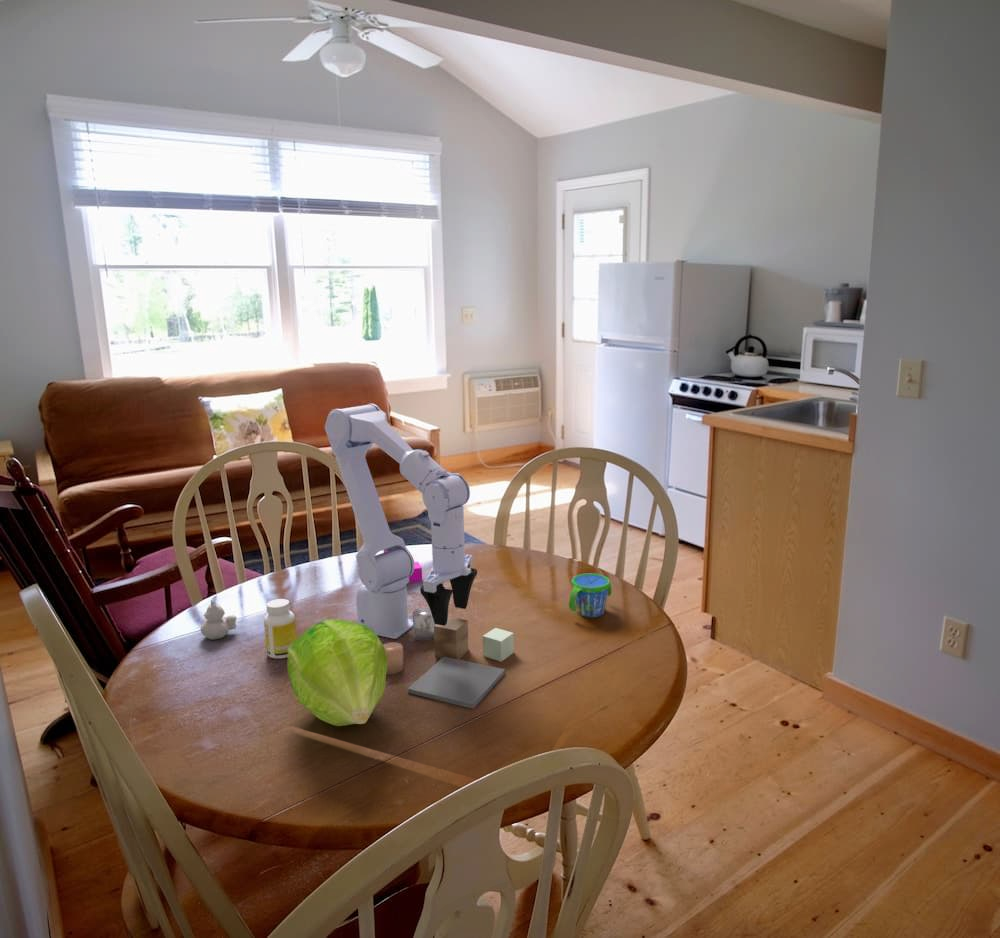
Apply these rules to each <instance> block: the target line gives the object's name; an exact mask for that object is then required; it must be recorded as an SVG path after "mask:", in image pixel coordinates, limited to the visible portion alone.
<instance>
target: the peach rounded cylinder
mask: <svg viewBox="0 0 1000 938" xmlns="http://www.w3.org/2000/svg"><path fill="white" fill-rule="evenodd" d="M382 644H383V643H382ZM383 646H384V648H385V652H386V659H387V665H388V666H387V672H386V675H395V674H399V673H401V672H402V671H403V670H404V669H405V667H404V666H405V665H404V664H405V663H404V649H403V648H404V646H403V644H401V643H400V642H397V641H396V642H395V641H393V642H392V641H391V642H386V643H384V644H383Z"/></svg>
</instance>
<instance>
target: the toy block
mask: <svg viewBox="0 0 1000 938" xmlns="http://www.w3.org/2000/svg"><path fill="white" fill-rule="evenodd" d="M384 552H387V550H383V553H384ZM413 560H414V572H413V574H412V575H411V576H409V582H408V583H407V584H410V583H418V582H423V568H422V566H421V564H420V562H419V561H415V559H414V558H413Z"/></svg>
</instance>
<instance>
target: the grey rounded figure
mask: <svg viewBox="0 0 1000 938" xmlns="http://www.w3.org/2000/svg"><path fill="white" fill-rule="evenodd" d="M224 615H226V612H225V610H224V608H223V607H222V606H221V605H220V604H217V603H216V602H215V601H213V600H212V599H210V604H209V605H208V606H207V608H206V611H205V612H204V613H203V617H204V618H205V621H204V622H203V624H202V625H201V626H200V633H201V634H202V636H204V637H205V638H206V639H208V640H212V641H213V640H219V639H223V638H224V637H225V636H226V635H227V634H228V633H229V631H231V630H235V629H236V628H237V624H236V621H237V616H236V615H235V614H234V615H227V616H226V617H225V616H224Z"/></svg>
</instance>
